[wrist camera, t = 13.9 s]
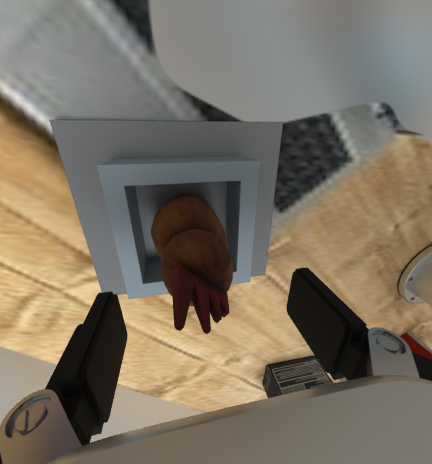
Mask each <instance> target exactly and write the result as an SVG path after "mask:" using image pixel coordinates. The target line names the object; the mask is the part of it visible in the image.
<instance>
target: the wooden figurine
mask: <svg viewBox="0 0 432 464" xmlns="http://www.w3.org/2000/svg"><path fill="white" fill-rule="evenodd" d="M151 236H152V239H153V242H154V245H155V248H156V250H157V252H158V254H159V256H160V258H161V272H162V279H163V282H164V284H165V286H166V288H167V290H168V292H169V294H170V295H171V296H173V311H174V326H175V328H176V329H177V330H179V331H181V330H182V329H183V328H184V325H185V321H186V317H187V313H188V309H189V306H194V307H195V310H196V313H197V316H198V318H199V321H200V324H201V327H202V329H203V332H204V333H206V334H208V333H209V332H210V331H211V326H210V314H211V316H212V318H213V320H214V321H215V322H216V323H218V322H219V321H220V320H221V319H222V317H226V316H227V315H228V314H229V304H228V297H227V291H228V290H229V288H230V285H231V283H232V280H233V263H232V260H231V257H230V254H229V251H228V243H227V237H226V234H225V231H224V229H223V227H222V224H221V222H220V220H219V218H218V217H217V215H216V213H215V212H214V210H213V208H212V207H211V206H210V204H209V203H208V202H207V201H206V200H205V199H204V197H202V196H198V195H194V194H190V193H186V194H182V195H179V196H176V197H174V198H172V199H170V200H168V201H167V202H165V203H164V204H163V205H162V207H161V208H160V209H159V210H158V211H157V212H156V213H155V216H154V220H153V223H152V227H151Z"/></svg>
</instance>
